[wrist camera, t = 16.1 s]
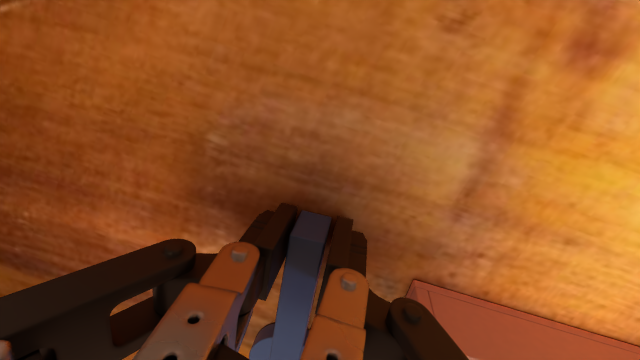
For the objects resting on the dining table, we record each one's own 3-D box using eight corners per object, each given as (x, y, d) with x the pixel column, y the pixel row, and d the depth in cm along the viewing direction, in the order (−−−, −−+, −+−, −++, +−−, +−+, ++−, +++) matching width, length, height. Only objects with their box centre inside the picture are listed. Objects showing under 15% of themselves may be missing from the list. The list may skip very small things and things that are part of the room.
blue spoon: (274, 202, 14) (257, 226, 12) (360, 223, 13) (358, 251, 11) (252, 364, 18) (236, 402, 16) (318, 383, 17) (310, 425, 15)
